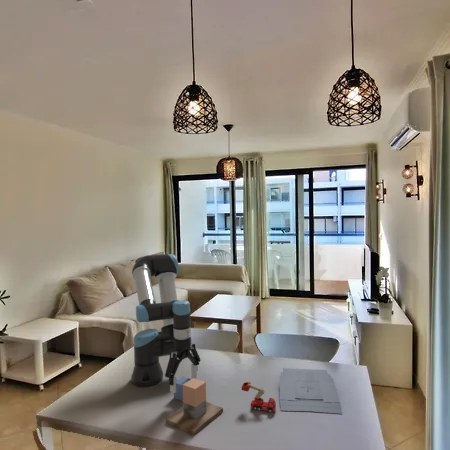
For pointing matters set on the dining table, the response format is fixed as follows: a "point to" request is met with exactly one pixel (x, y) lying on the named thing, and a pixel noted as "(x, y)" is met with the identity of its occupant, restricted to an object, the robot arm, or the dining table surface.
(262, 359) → the dining table surface
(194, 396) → the terracotta brick
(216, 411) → the board
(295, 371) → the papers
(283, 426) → the dining table surface
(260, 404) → the toy fire truck
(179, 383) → the slate blue brick
